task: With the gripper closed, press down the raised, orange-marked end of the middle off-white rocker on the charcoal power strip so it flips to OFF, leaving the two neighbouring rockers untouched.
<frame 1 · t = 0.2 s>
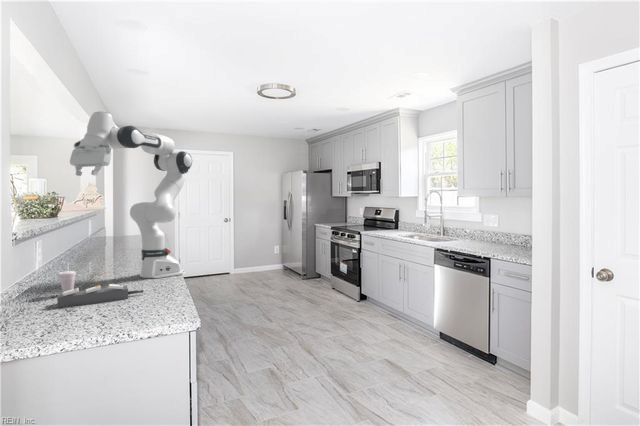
hand: (86, 175, 157), 52 cm above the worktop, tool tilted 20°, fingers open, 8 cm apart
rocker 1: (116, 286, 152), point 5 cm above the worktop, hinge at -12.0°
rocker 2: (93, 289, 148), point 5 cm above the worktop, hinge at 12.0°
power strip: (94, 300, 150), on the worktop
rocker 3: (70, 291, 144), point 5 cm above the worktop, hinge at 12.0°
smoothie: (68, 294, 159), on the worktop
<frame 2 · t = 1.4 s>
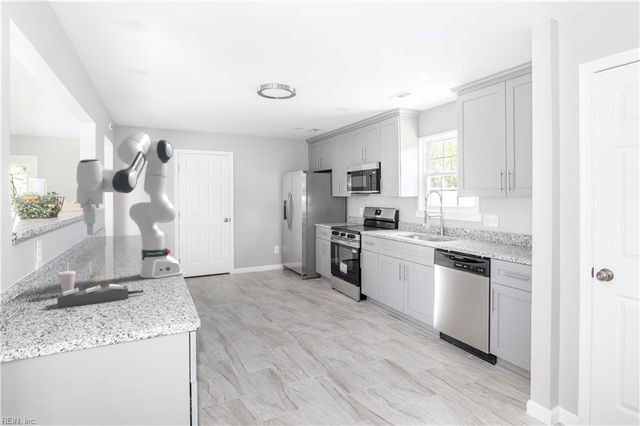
hand: (89, 233, 147), 28 cm above the worktop, tool pointing down, fingers open, 8 cm apart
nothing on the worktop moved.
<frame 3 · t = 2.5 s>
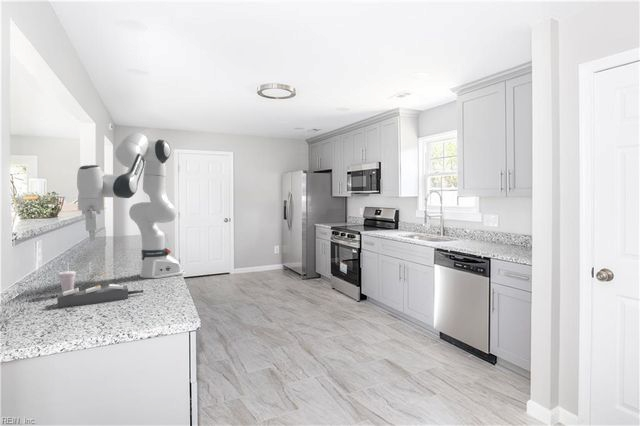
hand: (92, 240, 147), 25 cm above the worktop, tool pointing down, fingers closed
nothing on the worktop moved.
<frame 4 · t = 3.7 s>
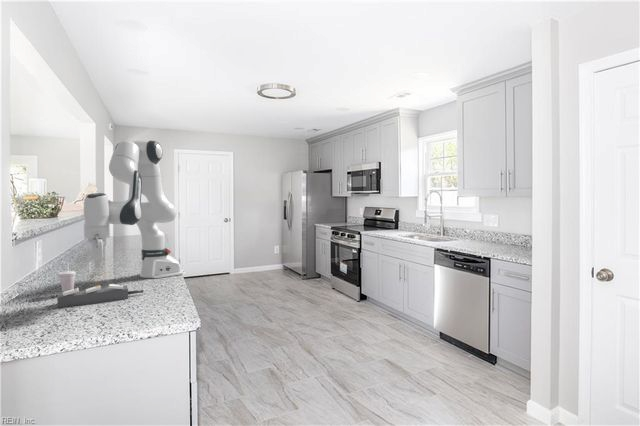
hand: (97, 267, 148), 14 cm above the worktop, tool pointing down, fingers closed
nothing on the worktop moved.
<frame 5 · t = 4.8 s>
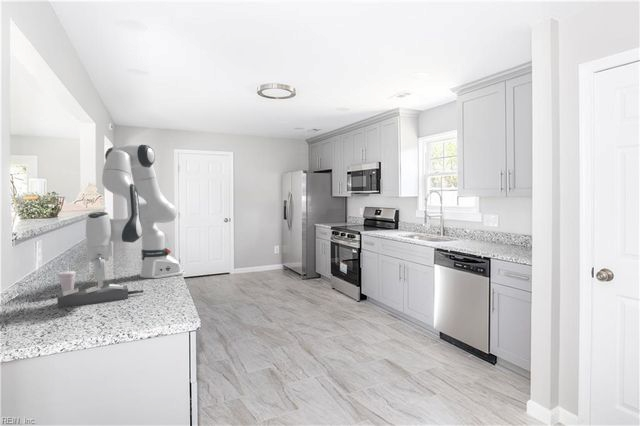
hand: (100, 286, 149), 6 cm above the worktop, tool pointing down, fingers closed, pressing on rocker 2
rocker 2: (93, 289, 148), point 5 cm above the worktop, hinge at 11.3°, touching gripper
everything else where it was.
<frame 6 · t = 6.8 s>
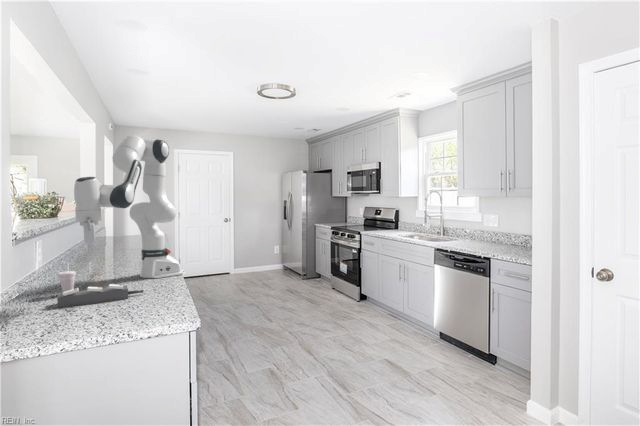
hand: (90, 250, 151), 21 cm above the worktop, tool pointing down, fingers closed
rocker 2: (94, 288, 148), point 5 cm above the worktop, hinge at -11.4°
everything else where it was.
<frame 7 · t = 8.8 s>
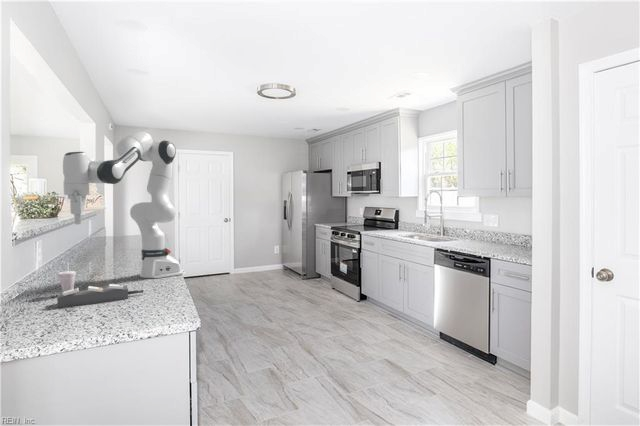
hand: (78, 224, 152), 31 cm above the worktop, tool pointing down, fingers closed
rocker 2: (95, 288, 148), point 5 cm above the worktop, hinge at -17.1°, touching power strip
everything else where it was.
at the end: rocker 2 at -17° (first picture: +12°); rocker 1 at -12° (first picture: -12°); rocker 3 at +12° (first picture: +12°) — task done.
